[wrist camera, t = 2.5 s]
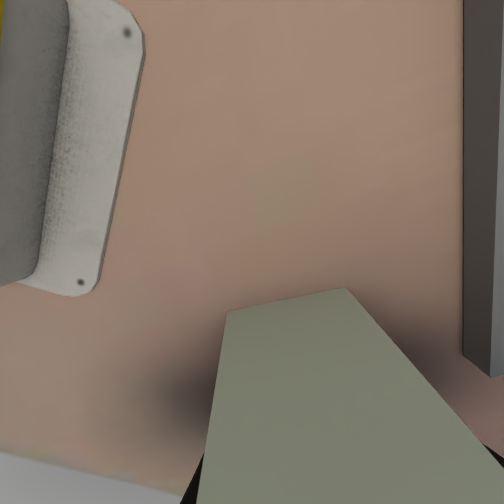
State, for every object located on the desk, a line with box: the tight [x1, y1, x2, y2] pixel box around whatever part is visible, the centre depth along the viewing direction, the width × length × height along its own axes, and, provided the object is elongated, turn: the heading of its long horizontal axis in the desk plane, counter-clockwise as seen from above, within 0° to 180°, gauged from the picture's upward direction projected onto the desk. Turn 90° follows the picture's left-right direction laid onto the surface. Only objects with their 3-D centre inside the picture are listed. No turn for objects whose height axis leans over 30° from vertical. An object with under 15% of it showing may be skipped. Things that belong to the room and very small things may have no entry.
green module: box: [196, 287, 504, 504], centre depth 7 cm, size 7×4×7 cm, turn 13°
